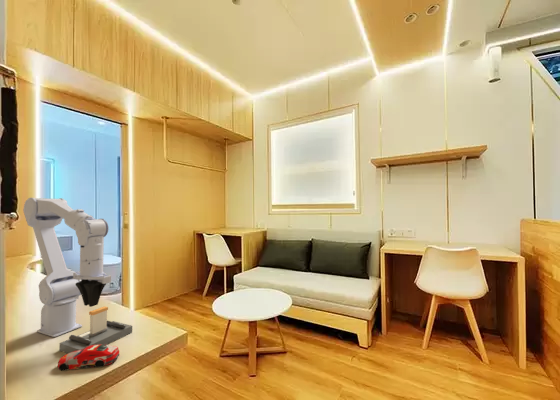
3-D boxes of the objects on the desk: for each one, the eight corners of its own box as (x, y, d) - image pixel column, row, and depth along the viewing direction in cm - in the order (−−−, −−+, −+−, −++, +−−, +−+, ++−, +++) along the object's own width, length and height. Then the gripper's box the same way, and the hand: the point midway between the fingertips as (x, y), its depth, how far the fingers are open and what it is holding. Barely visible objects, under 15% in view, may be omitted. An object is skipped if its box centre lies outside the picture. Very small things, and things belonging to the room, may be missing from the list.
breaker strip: (59, 350, 71) (59, 338, 71) (112, 327, 85) (113, 317, 85) (80, 357, 68) (80, 345, 68) (132, 332, 82) (132, 321, 82)
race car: (51, 373, 62) (51, 356, 62) (66, 360, 67) (67, 344, 68) (111, 368, 64) (111, 351, 64) (121, 355, 69) (121, 340, 69)
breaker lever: (88, 336, 75) (88, 312, 75) (104, 329, 79) (105, 306, 79) (91, 337, 74) (92, 312, 74) (108, 330, 79) (108, 306, 79)
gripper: (62, 260, 78) (61, 306, 77) (93, 263, 72) (92, 313, 72) (87, 255, 84) (86, 298, 84) (118, 259, 79) (117, 304, 78)
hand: (91, 305), depth 78 cm, fingers closed
